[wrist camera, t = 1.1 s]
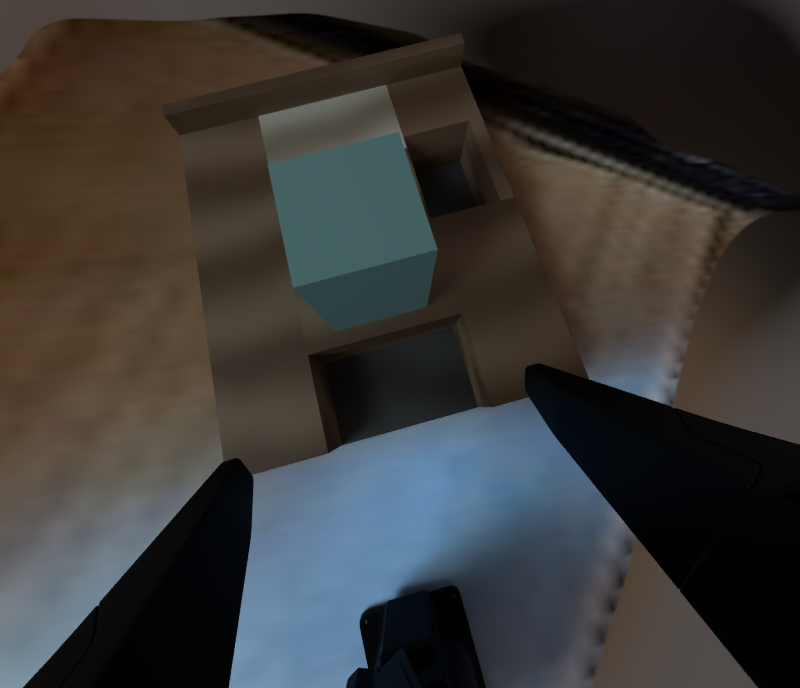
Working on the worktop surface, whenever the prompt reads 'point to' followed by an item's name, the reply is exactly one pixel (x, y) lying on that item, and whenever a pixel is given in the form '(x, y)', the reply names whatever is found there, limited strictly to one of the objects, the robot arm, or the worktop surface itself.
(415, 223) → the teal block
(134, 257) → the worktop surface
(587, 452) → the robot arm
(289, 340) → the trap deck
